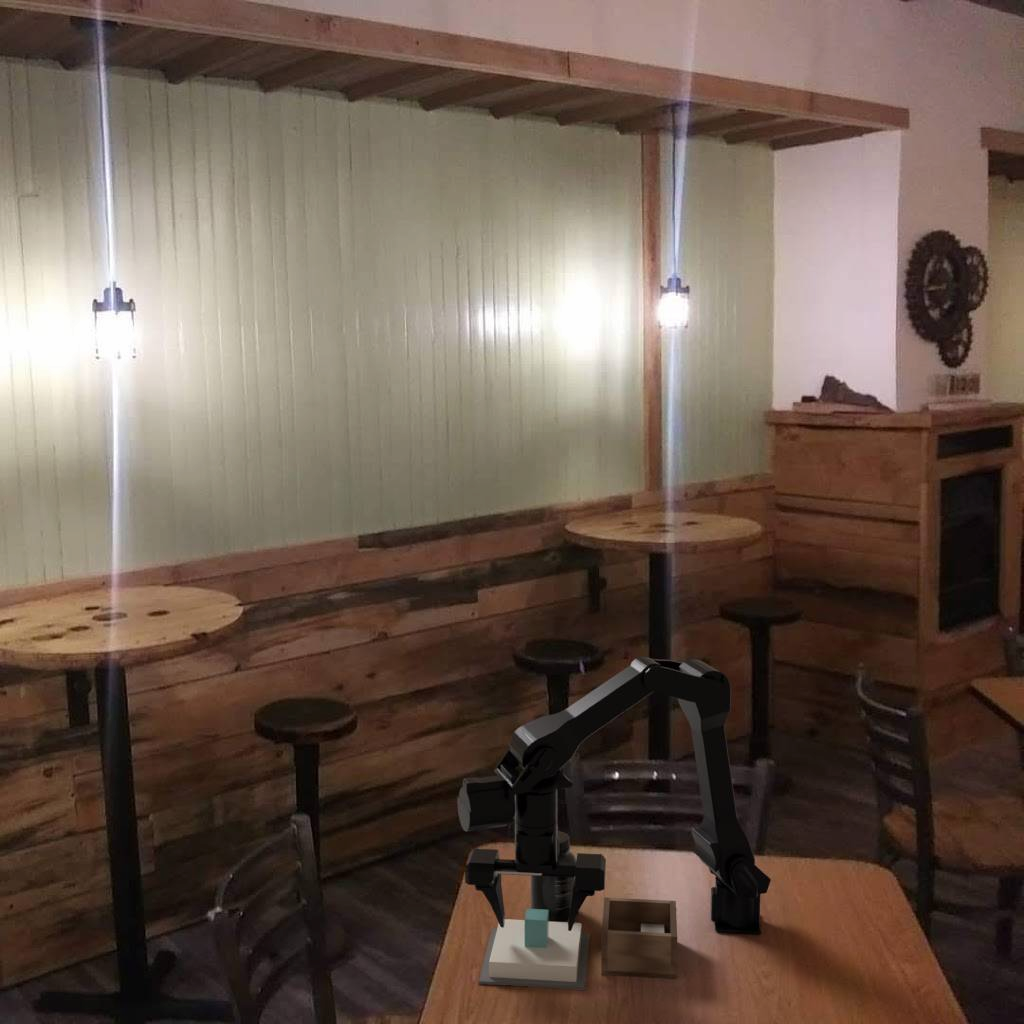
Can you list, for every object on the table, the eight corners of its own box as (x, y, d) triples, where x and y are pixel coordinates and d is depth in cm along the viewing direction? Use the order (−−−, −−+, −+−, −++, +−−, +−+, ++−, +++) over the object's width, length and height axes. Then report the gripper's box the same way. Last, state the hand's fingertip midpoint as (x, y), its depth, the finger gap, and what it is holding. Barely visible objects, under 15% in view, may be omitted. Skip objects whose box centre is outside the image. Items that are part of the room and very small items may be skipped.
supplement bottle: (578, 903, 184) (578, 828, 182) (575, 926, 177) (576, 848, 176) (532, 901, 185) (532, 826, 183) (528, 924, 178) (528, 846, 176)
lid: (581, 937, 173) (581, 896, 172) (576, 982, 162) (576, 938, 161) (499, 933, 175) (499, 892, 174) (489, 976, 163) (488, 933, 162)
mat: (589, 936, 175) (589, 933, 175) (584, 989, 161) (584, 987, 161) (492, 931, 176) (492, 928, 176) (478, 983, 162) (478, 981, 162)
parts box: (675, 940, 173) (675, 900, 172) (676, 978, 164) (677, 936, 163) (603, 936, 174) (604, 897, 173) (601, 974, 165) (601, 932, 164)
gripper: (607, 798, 172) (606, 903, 175) (475, 793, 174) (476, 896, 177) (604, 832, 161) (603, 942, 164) (464, 826, 163) (465, 935, 166)
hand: (536, 927), depth 168 cm, fingers open, 9 cm apart
